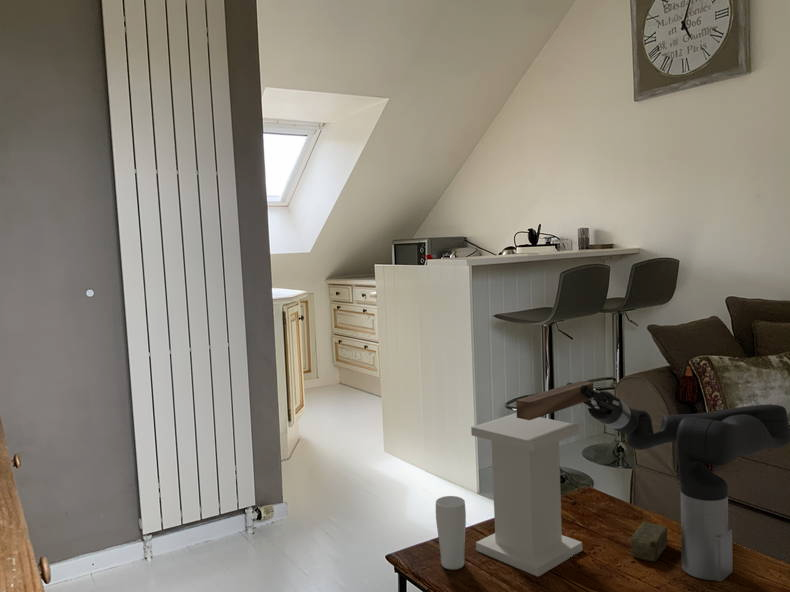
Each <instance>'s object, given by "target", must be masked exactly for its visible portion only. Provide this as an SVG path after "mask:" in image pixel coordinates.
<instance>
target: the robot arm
mask: <svg viewBox="0 0 790 592" xmlns="http://www.w3.org/2000/svg"><path fill="white" fill-rule="evenodd" d="M572 383H573V382H567V384H566V385H569V384H572ZM581 394H583V395H584V396H586V397H588V398H590V400H589V401H586V402H583V403H581V404H582V405H584V407H586V408H587V411H588V413H589V415H590V416H591V417H593V418H594V419H595V420H597V421H599V422H600V423H601V424H603V425H605V426H607V427H609V428H612V429H613V430H615V431H617V432H619V433H620V434H622V435H625V437H626V438H625V439H626V443H627V445H628V446H629V447H630V448H631V449H634V450H638V451H642V450H643V451H644V450H648V449H651V448H653V447H656V446H660V445H663V444H668V443H672V442H673V443H674V442H676V452H677V453H676V454H677V465H678V466H677V467H678V468H677V469H678V480H679V484H680V487H679V488H680V534H681V535H680V539H681V540H680V542H681V543H680V544H681V547H680V549H681V568H682V570H683V571H684V572H685V573H687V574H688V575H689V576H692V577H694V578H698V579H701V580H706V581H717V582H719V583H722V582H723V581H724V580H725V579H726V578H728V576H730V575H731V574H732V573H733V570H734V569H733V568H734V567H733V563H734V562H733V529H732V528H729V488H728V487H729V486H728V483H727V481H726V480H725V479H724V478H722V477H721V476H719V474H716V473H714V472H713V471H711V470H710V469H709V468H707V467H706V466H705V465H704V464H707V465H712V466H725V465H728V464H730V463H732V462H733V461H736V460H737V459H738V458H739V457H743V456H747V455H751V454H752V455H753V454H755V453H757V452H760V451H763V450H764V451H765V450H772V449H773V450H774V449H778V448H779V449H781V448H784V447H786V446H788V444H790V423H789V417H788V413H787V409H786V407H785V406H782V405H780V404H757V405H756V404H754V405H746V406H739V407H732V408H726V409H725V408H724V409H719V410H713V411H706V412H699V413H685V414H682V413H681V414H667V415H664V416H663V417H662V418H661V423H660V424H661V425H660V427H661V428H660V430H659V431H657V432H655V433H654V428H653V423H652V422H653V421H652V417H651V415H650V414H649V413H648V412H647V411H646V410H644V409H635V408H631V407H630V406H628V405H627V404H626V403H625V402H624V401H623V400H621V399H620V398H618V396H616V395H614V394H613V393H612V392H610V391H607V390H596V389H594V388H593V389H591V388H590V387H588V386H587V385H582V388H581Z"/></svg>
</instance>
